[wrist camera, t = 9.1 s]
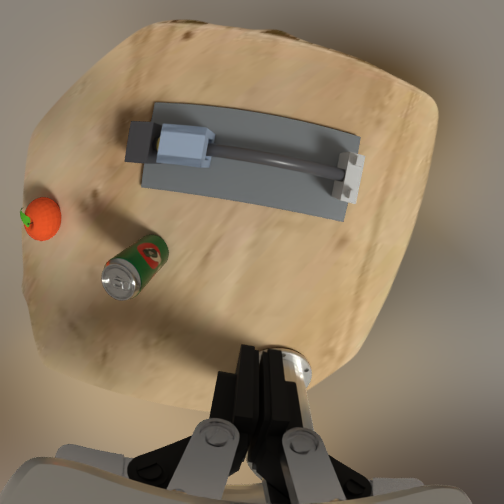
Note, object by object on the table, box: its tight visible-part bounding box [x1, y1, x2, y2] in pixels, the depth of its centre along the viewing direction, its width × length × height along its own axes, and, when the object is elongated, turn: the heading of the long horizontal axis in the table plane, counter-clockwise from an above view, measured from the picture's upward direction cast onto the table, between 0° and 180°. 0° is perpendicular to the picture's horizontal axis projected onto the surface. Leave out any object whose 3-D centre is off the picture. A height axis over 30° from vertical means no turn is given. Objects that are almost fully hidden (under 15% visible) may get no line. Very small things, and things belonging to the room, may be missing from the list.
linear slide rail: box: [125, 103, 365, 222], centre depth 32 cm, size 28×12×6 cm, turn 80°
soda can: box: [101, 235, 169, 300], centre depth 33 cm, size 5×5×12 cm
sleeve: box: [156, 124, 216, 168], centre depth 30 cm, size 5×4×6 cm
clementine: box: [20, 197, 61, 241], centre depth 34 cm, size 8×7×7 cm
